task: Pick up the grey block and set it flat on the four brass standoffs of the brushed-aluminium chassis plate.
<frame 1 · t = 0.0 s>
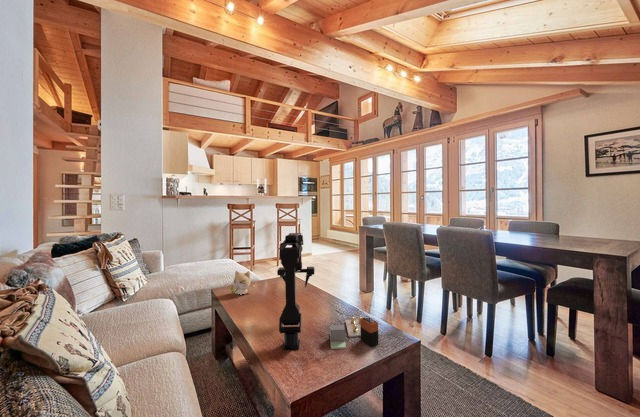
hand: (296, 287, 137), 15 cm above the table, fingers open, 9 cm apart
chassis: (357, 328, 122), on the table
battery: (369, 342, 110), on the table
kitten: (241, 294, 172), on the table
grey block: (337, 341, 112), on the table
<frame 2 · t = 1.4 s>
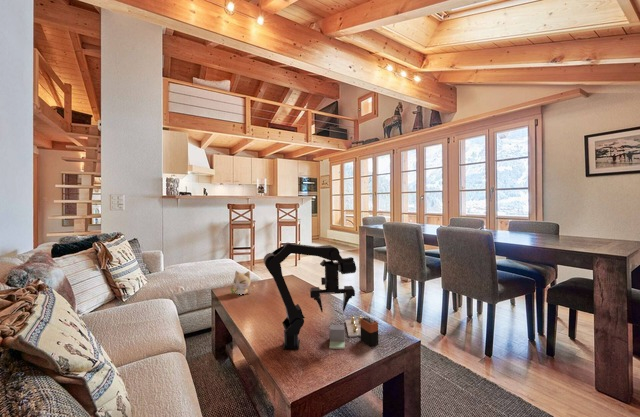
hand: (332, 311, 114), 11 cm above the table, fingers open, 9 cm apart
nothing on the table moved.
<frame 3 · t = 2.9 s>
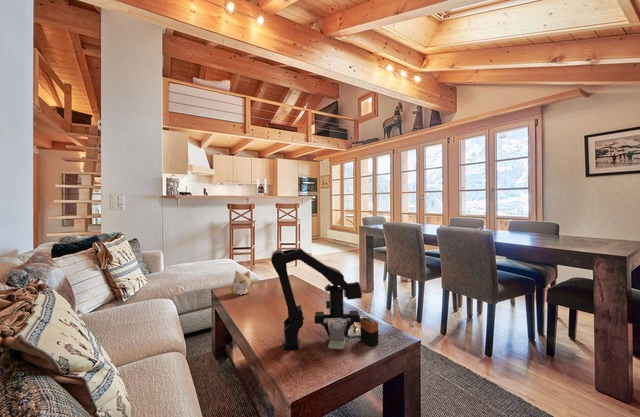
hand: (337, 337, 112), 2 cm above the table, fingers closed on grey block, 6 cm apart
grey block: (337, 340, 112), on the table, touching gripper
everything else where it was.
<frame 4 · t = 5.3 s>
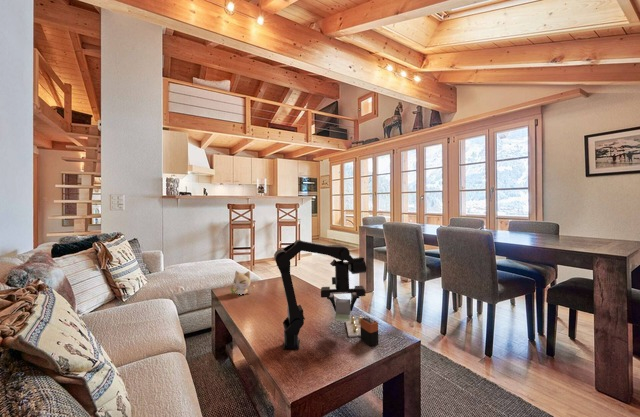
hand: (343, 311, 114), 11 cm above the table, fingers closed on grey block, 6 cm apart
grey block: (343, 314, 114), point 10 cm above the table, touching gripper
everything else where it was.
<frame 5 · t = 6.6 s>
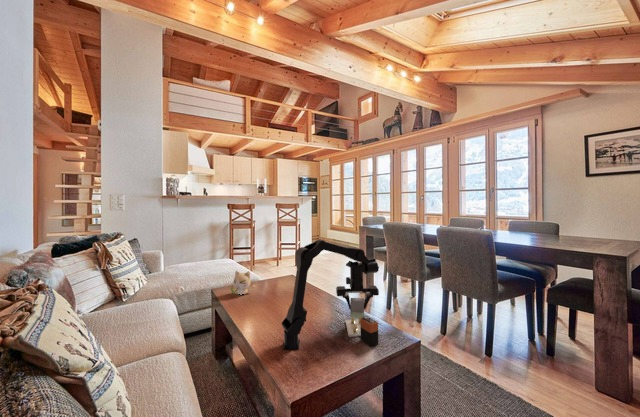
hand: (357, 309, 122), 9 cm above the table, fingers closed on grey block, 6 cm apart
grey block: (357, 312, 122), point 7 cm above the table, touching gripper
everything else where it was.
when the fingers open (6 cm above the table, at t = 7.7 s): grey block stays where it is, resting on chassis.
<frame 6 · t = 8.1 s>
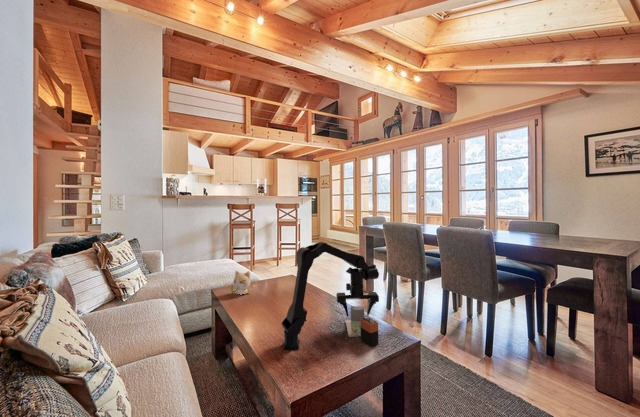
hand: (357, 315, 122), 6 cm above the table, fingers open, 9 cm apart
grey block: (357, 321, 122), point 3 cm above the table, touching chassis
everything else where it was.
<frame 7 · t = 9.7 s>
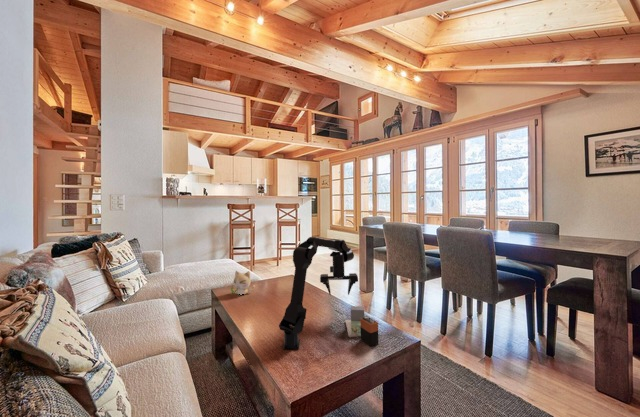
hand: (339, 294, 134), 11 cm above the table, fingers open, 9 cm apart
nothing on the table moved.
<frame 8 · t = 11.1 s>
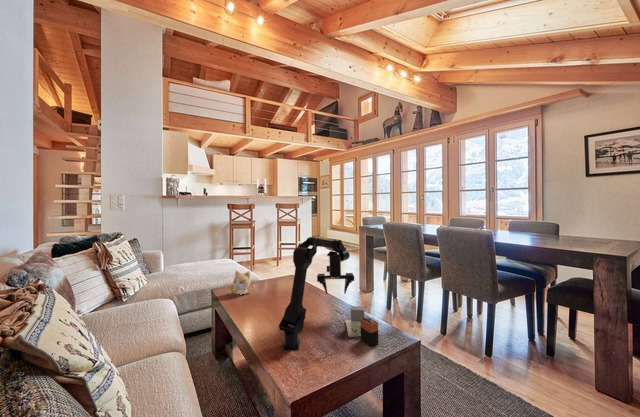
hand: (335, 293, 137), 11 cm above the table, fingers open, 9 cm apart
nothing on the table moved.
at the end: grey block 0.1 cm off-centre on the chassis, point 3.5 cm above the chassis's base; grey block tilted 0°; the gripper is holding nothing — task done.
